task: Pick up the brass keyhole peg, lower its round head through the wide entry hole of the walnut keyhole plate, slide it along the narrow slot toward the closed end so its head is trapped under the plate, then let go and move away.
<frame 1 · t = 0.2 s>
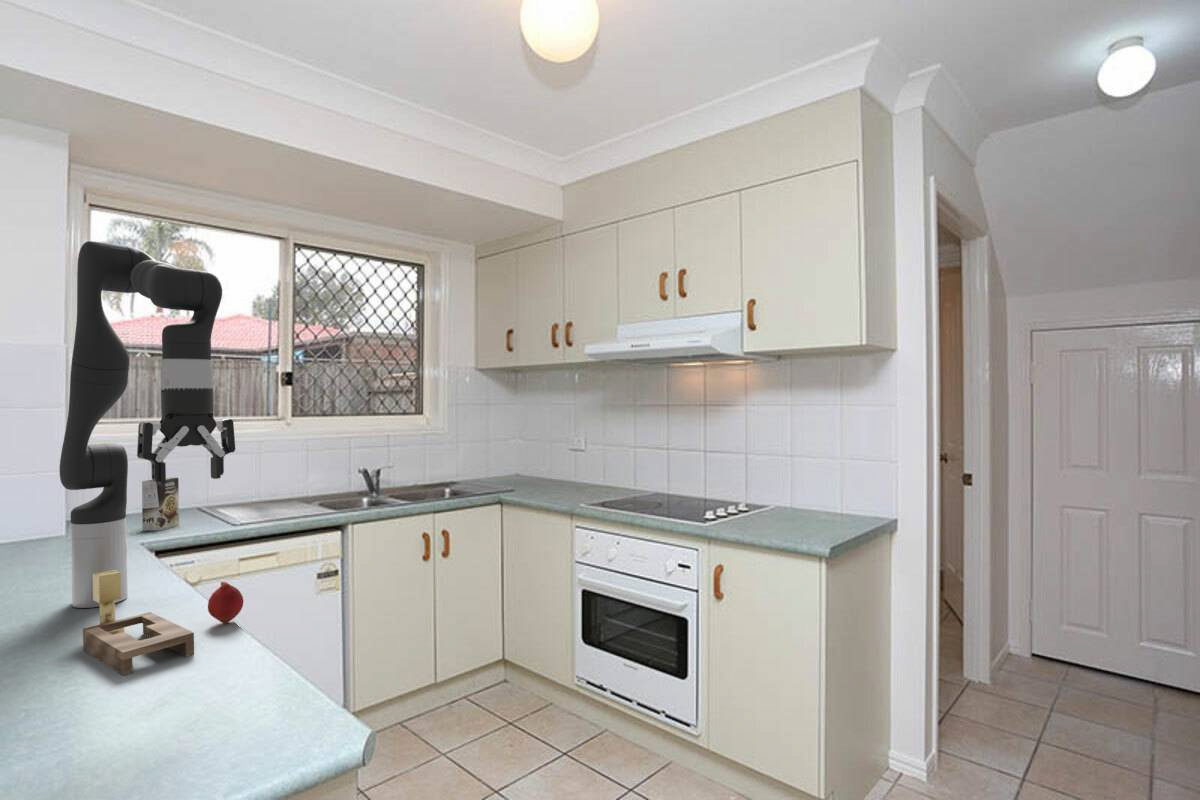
hand: (188, 481, 110), 29 cm above the table, tool pointing down, fingers open, 8 cm apart
keyhole peg: (107, 634, 117), on the table
coffee box: (161, 528, 212), on the table
onion: (226, 624, 122), on the table
keyhole plate: (138, 651, 109), on the table
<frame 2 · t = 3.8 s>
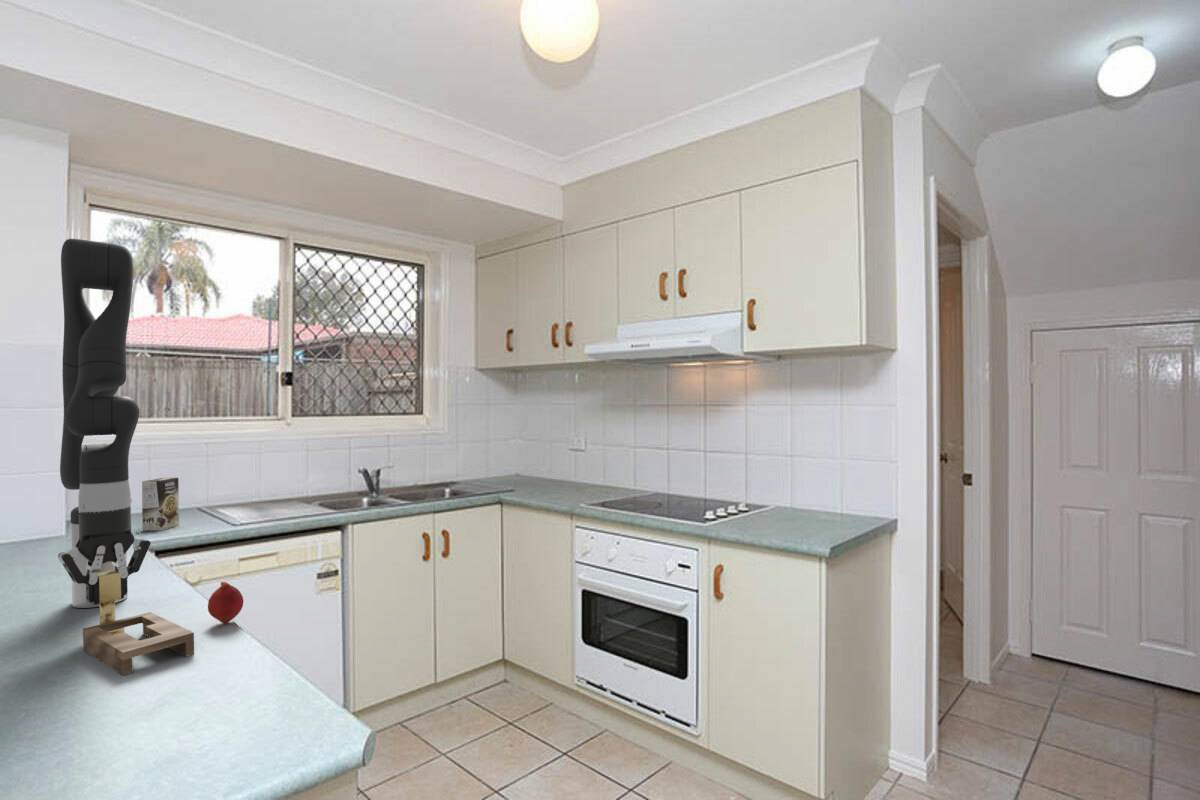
hand: (107, 600, 117), 6 cm above the table, tool pointing down, fingers closed on keyhole peg, 3 cm apart
keyhole peg: (107, 634, 117), on the table, touching gripper
everything else where it was.
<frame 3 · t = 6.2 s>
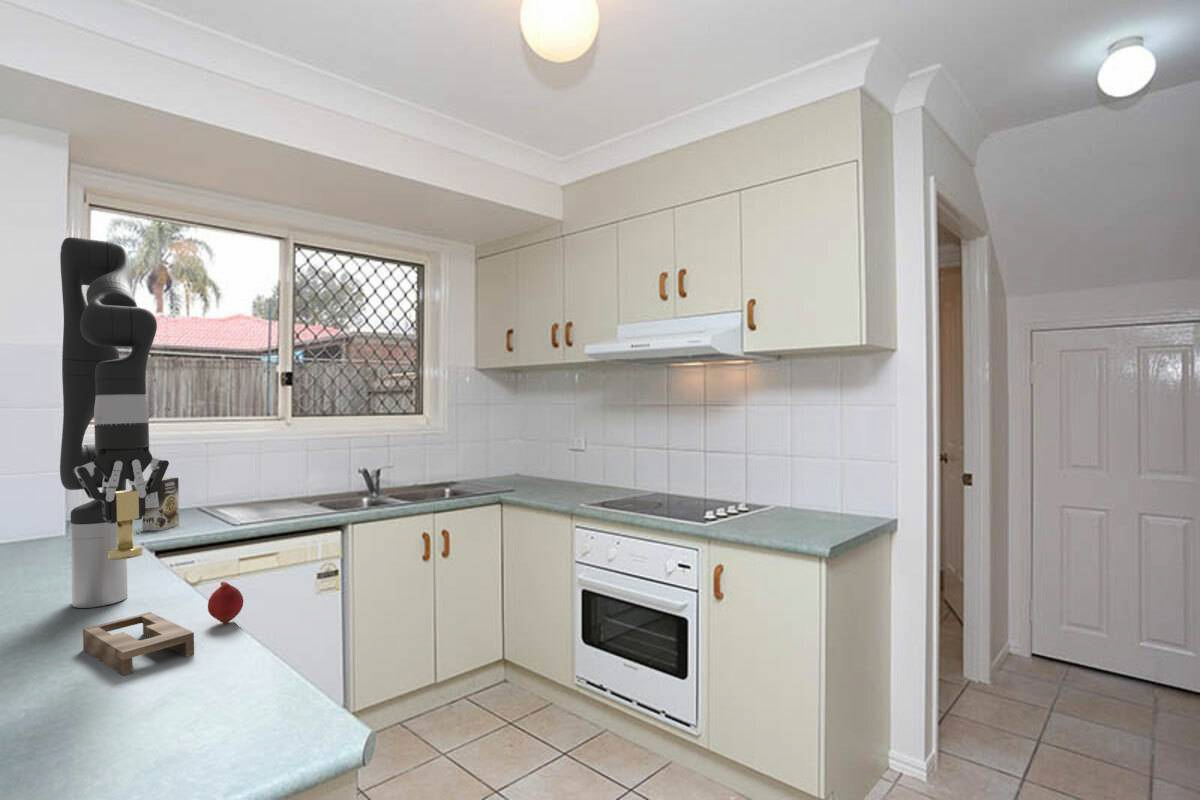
hand: (124, 520, 111), 22 cm above the table, tool pointing down, fingers closed on keyhole peg, 3 cm apart
keyhole peg: (125, 556, 111), point 16 cm above the table, touching gripper
everything else where it was.
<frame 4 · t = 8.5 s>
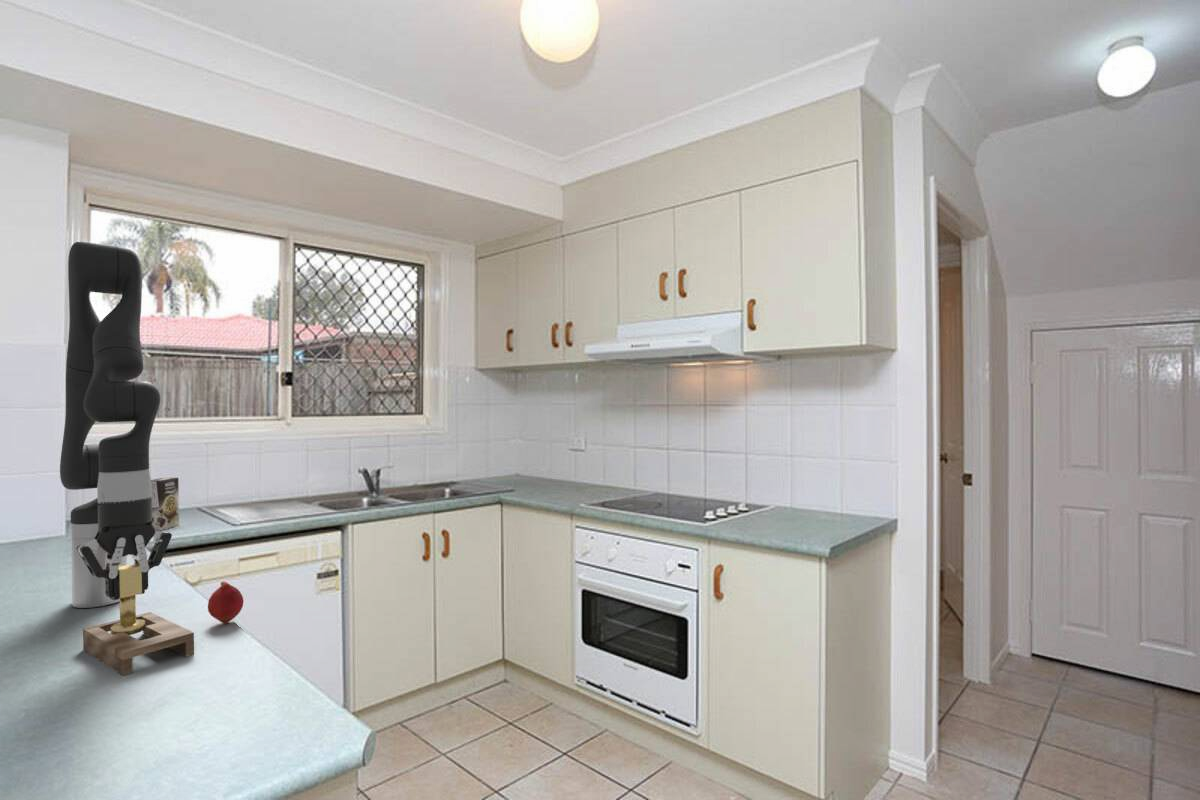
hand: (127, 595, 111), 9 cm above the table, tool pointing down, fingers closed on keyhole peg, 3 cm apart
keyhole peg: (128, 631, 111), point 3 cm above the table, touching gripper
everything else where it was.
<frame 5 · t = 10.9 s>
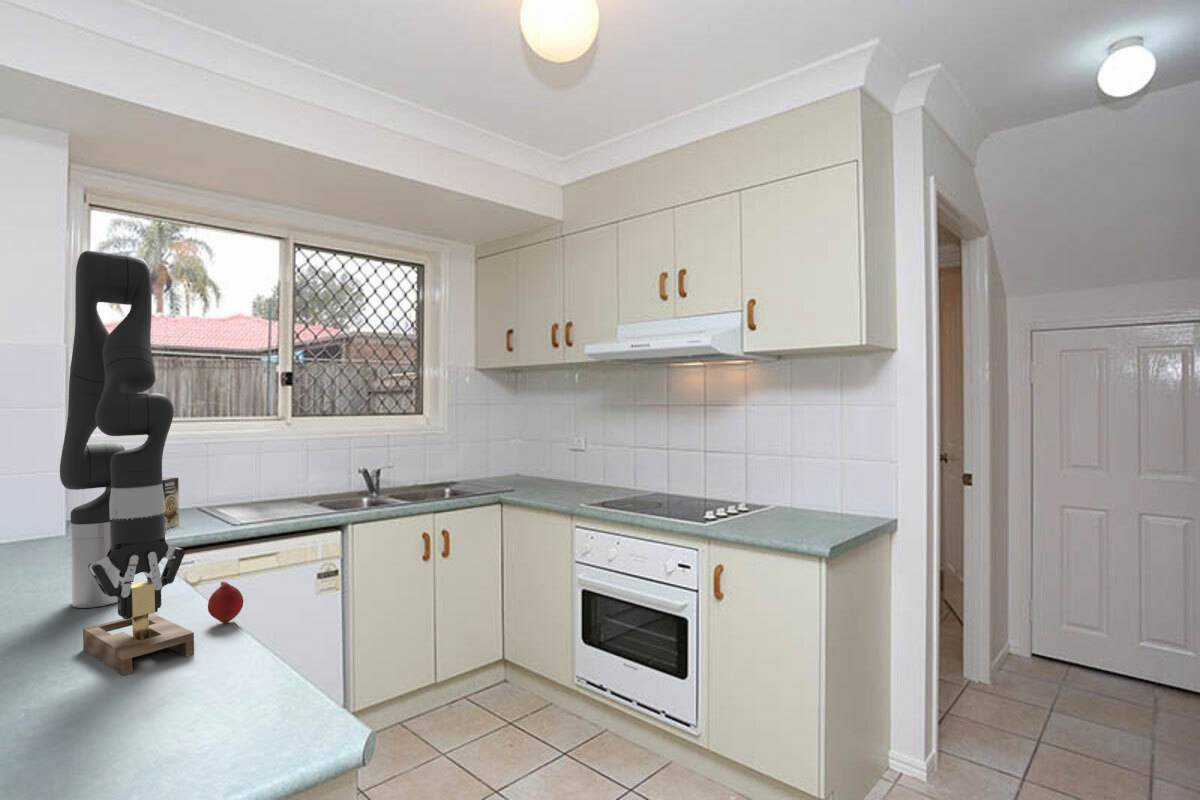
hand: (139, 614, 108), 7 cm above the table, tool pointing down, fingers closed on keyhole peg, 3 cm apart
keyhole peg: (141, 651, 108), on the table, touching gripper
everything else where it was.
when the fingers open (6 cm above the table, at t = 13.0 s): keyhole peg stays where it is, on the table.
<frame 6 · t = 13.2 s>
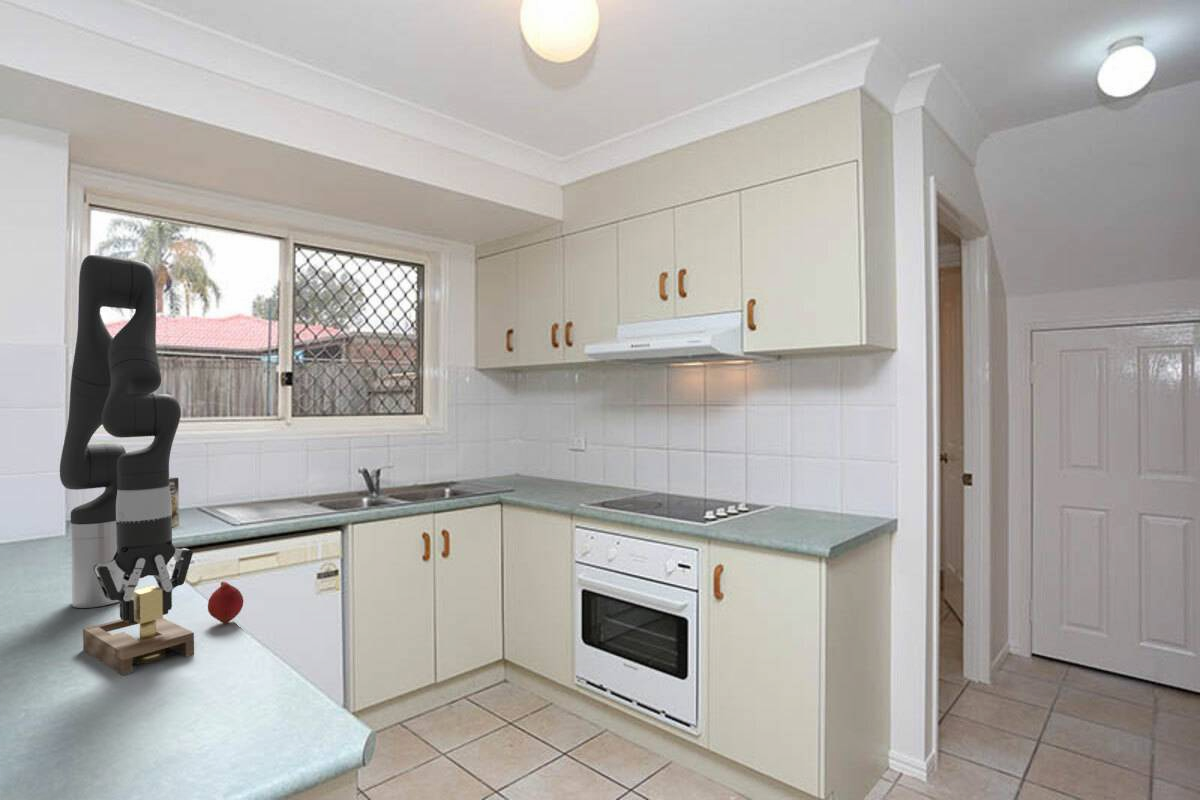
hand: (146, 617, 106), 7 cm above the table, tool pointing down, fingers open, 4 cm apart
keyhole peg: (148, 657, 106), on the table
everything else where it was.
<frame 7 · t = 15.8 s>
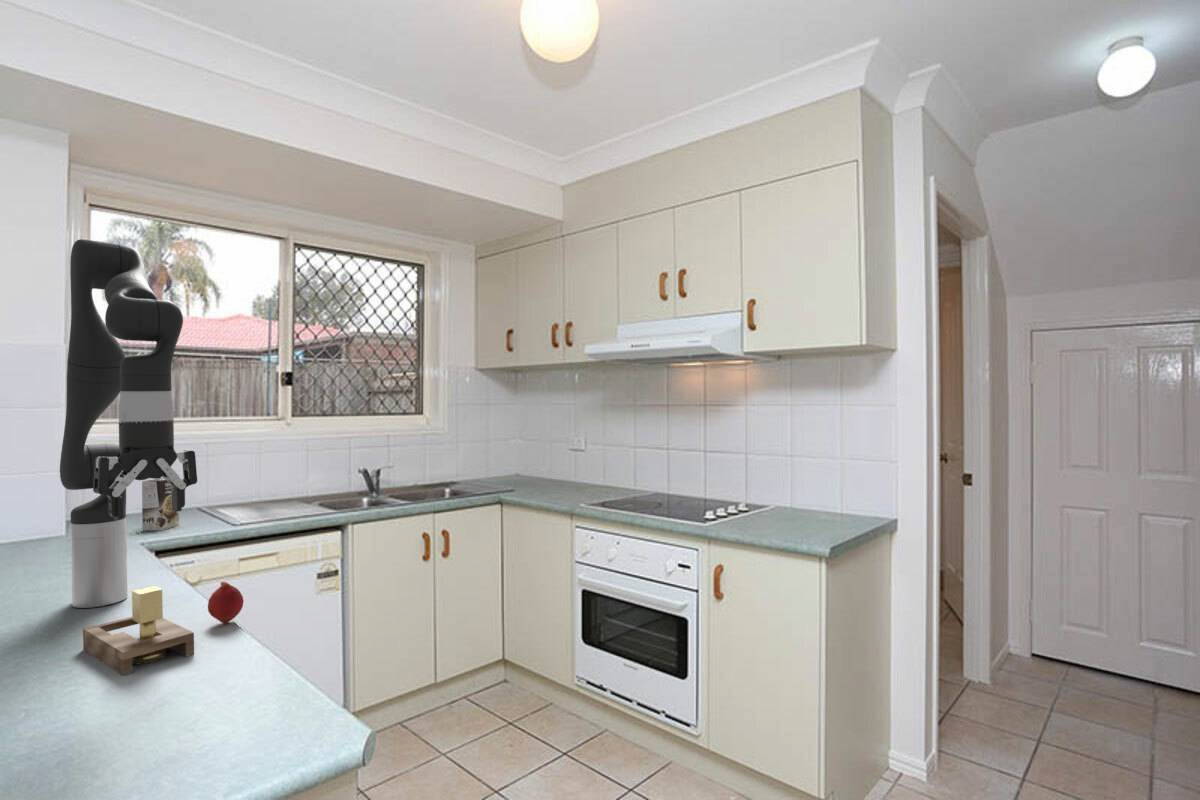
hand: (148, 515, 108), 23 cm above the table, tool pointing down, fingers open, 8 cm apart
nothing on the table moved.
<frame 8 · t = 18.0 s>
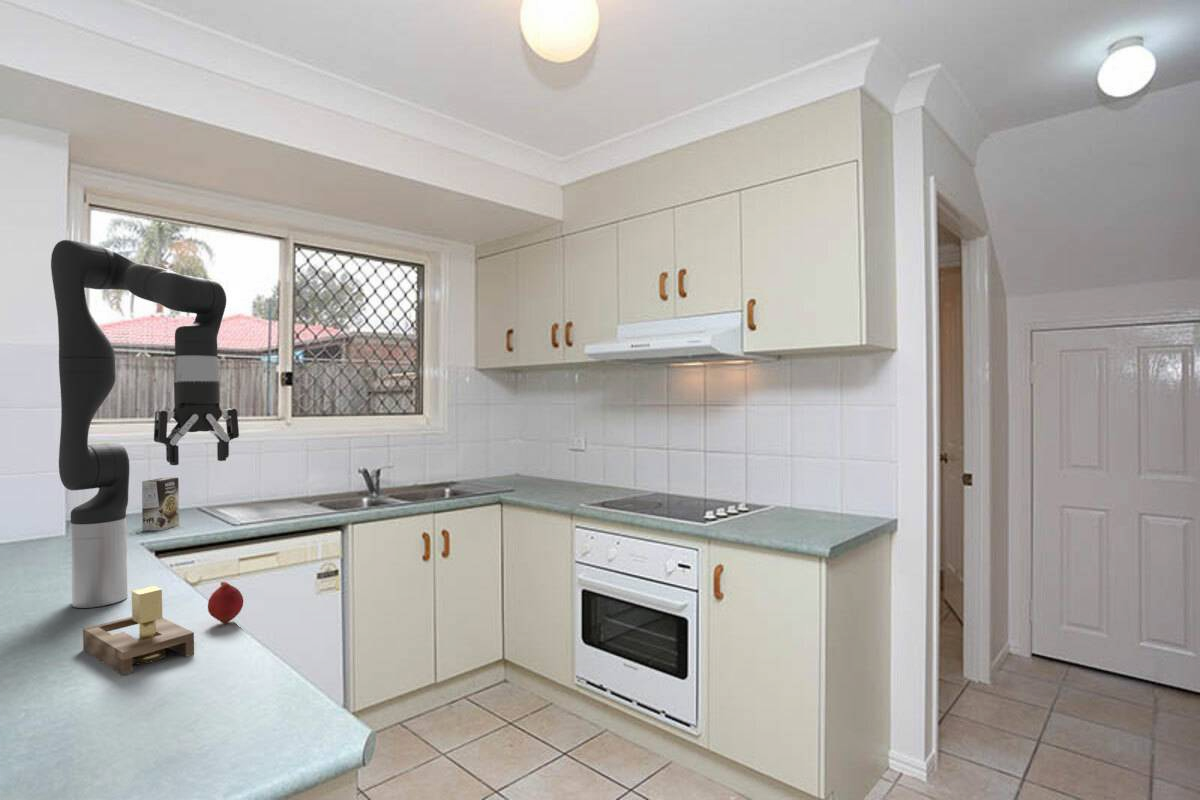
hand: (198, 462, 126), 30 cm above the table, tool pointing down, fingers open, 8 cm apart
nothing on the table moved.
at the end: keyhole peg 0.6 cm from the target spot on the keyhole plate, point 0.0 cm above the keyhole plate's base; keyhole peg tilted 1°; the gripper is holding nothing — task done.
